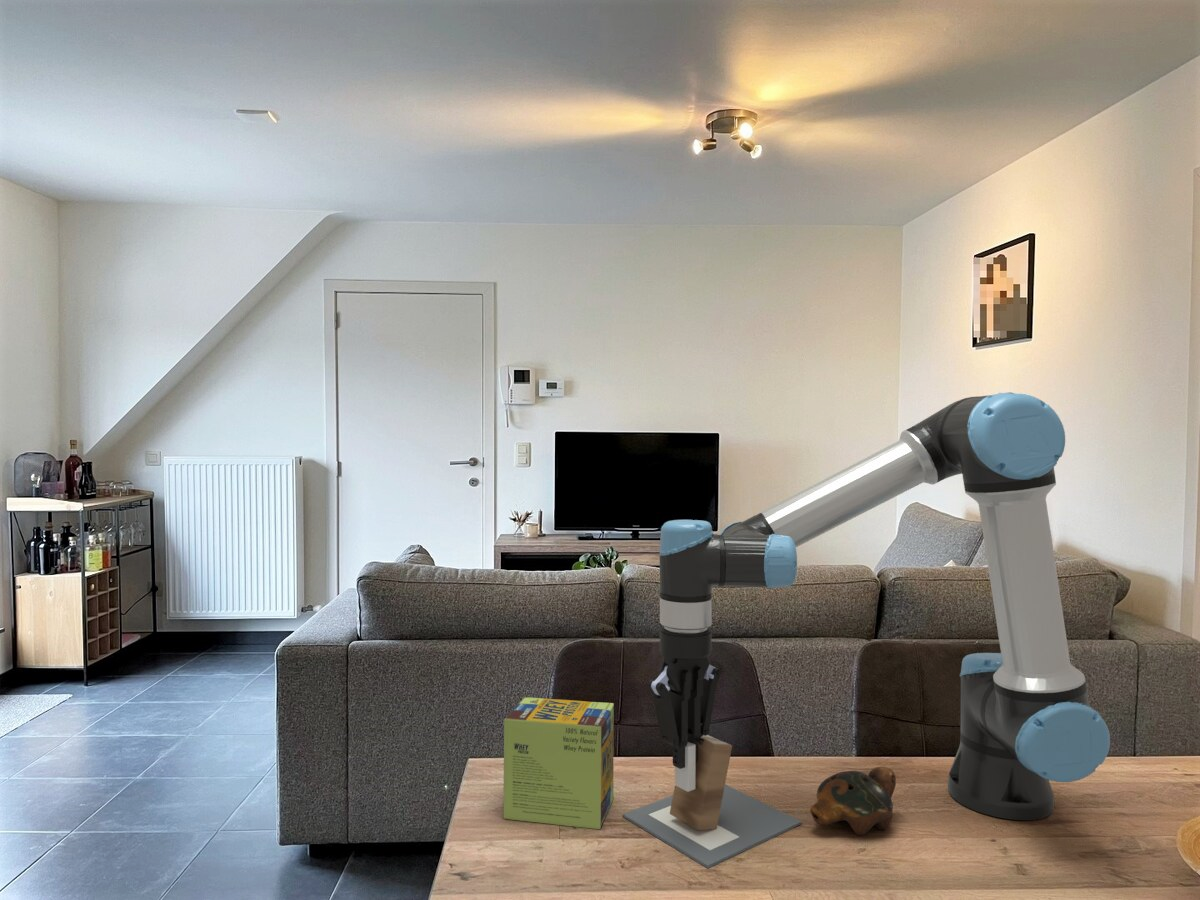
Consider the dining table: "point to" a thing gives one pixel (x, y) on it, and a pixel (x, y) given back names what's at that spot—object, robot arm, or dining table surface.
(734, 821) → the mat
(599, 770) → the protein box
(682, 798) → the walnut block
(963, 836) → the dining table surface
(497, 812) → the dining table surface
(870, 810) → the decorative turtle
